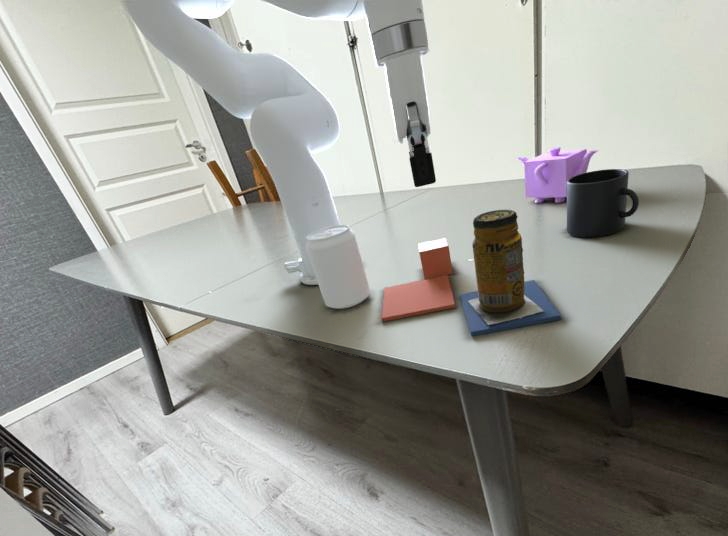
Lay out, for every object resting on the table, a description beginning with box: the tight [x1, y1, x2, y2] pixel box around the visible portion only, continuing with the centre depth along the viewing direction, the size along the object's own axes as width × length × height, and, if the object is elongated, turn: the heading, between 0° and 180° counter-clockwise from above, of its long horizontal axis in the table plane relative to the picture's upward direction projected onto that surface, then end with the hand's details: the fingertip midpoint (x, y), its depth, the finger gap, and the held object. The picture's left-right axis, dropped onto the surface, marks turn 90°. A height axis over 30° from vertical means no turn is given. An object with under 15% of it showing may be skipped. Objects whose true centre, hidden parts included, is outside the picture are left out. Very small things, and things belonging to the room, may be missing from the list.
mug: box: [566, 168, 640, 238], centre depth 70 cm, size 9×12×9 cm
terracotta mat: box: [381, 275, 457, 322], centre depth 64 cm, size 11×12×1 cm
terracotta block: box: [418, 237, 454, 280], centre depth 71 cm, size 5×5×5 cm
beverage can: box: [306, 224, 371, 310], centre depth 67 cm, size 8×8×12 cm
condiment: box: [469, 209, 543, 325], centre depth 51 cm, size 7×8×12 cm
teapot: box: [516, 146, 600, 204], centre depth 94 cm, size 15×13×11 cm
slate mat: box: [459, 279, 562, 337], centre depth 55 cm, size 11×12×1 cm
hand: (424, 179), depth 63 cm, fingers open, 9 cm apart
